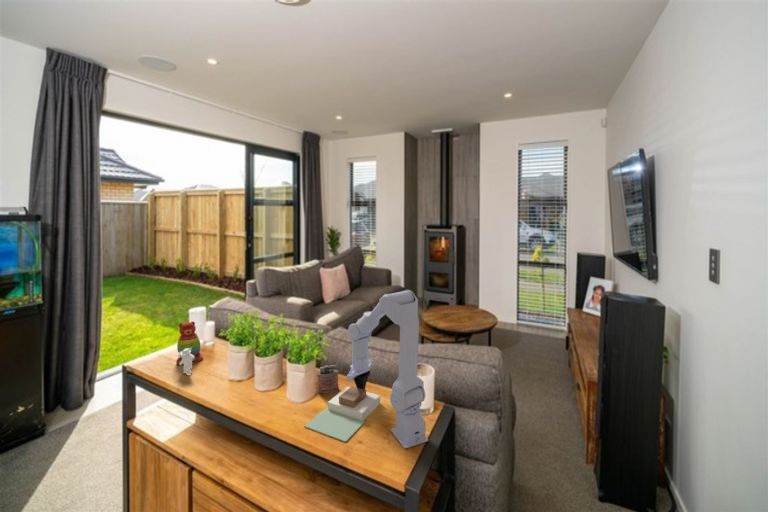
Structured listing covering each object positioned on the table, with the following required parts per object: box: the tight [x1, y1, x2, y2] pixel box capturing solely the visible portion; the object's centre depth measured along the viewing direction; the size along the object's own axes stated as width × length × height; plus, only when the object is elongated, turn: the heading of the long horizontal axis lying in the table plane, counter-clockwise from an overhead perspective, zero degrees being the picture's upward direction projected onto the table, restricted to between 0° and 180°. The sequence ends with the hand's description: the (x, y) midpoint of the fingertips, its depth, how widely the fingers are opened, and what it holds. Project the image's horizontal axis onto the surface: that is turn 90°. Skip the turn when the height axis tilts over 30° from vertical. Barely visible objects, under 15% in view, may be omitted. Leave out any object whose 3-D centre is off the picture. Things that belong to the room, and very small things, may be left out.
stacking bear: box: [176, 321, 204, 365], centre depth 159 cm, size 11×10×18 cm
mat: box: [303, 408, 366, 443], centre depth 110 cm, size 11×16×1 cm
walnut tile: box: [339, 385, 367, 408], centre depth 118 cm, size 8×6×2 cm
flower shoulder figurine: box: [177, 348, 195, 374], centre depth 145 cm, size 9×4×12 cm, turn 61°
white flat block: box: [327, 386, 381, 421], centre depth 120 cm, size 12×14×3 cm
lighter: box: [316, 364, 340, 394], centre depth 130 cm, size 8×3×10 cm, turn 105°
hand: (361, 391), depth 123 cm, fingers closed
